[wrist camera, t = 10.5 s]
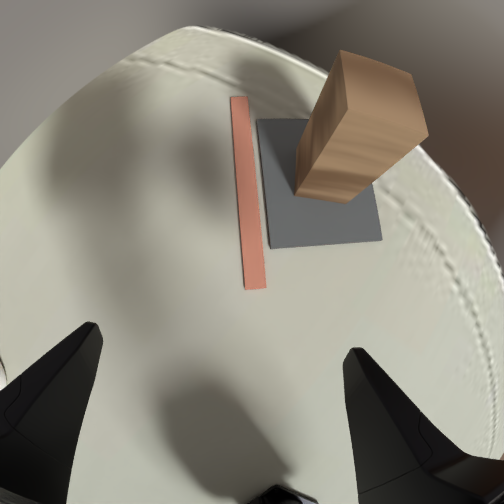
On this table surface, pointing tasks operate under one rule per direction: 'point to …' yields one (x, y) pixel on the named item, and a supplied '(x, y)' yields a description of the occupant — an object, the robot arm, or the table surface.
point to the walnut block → (357, 129)
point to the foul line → (247, 196)
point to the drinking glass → (2, 377)
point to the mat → (306, 209)
